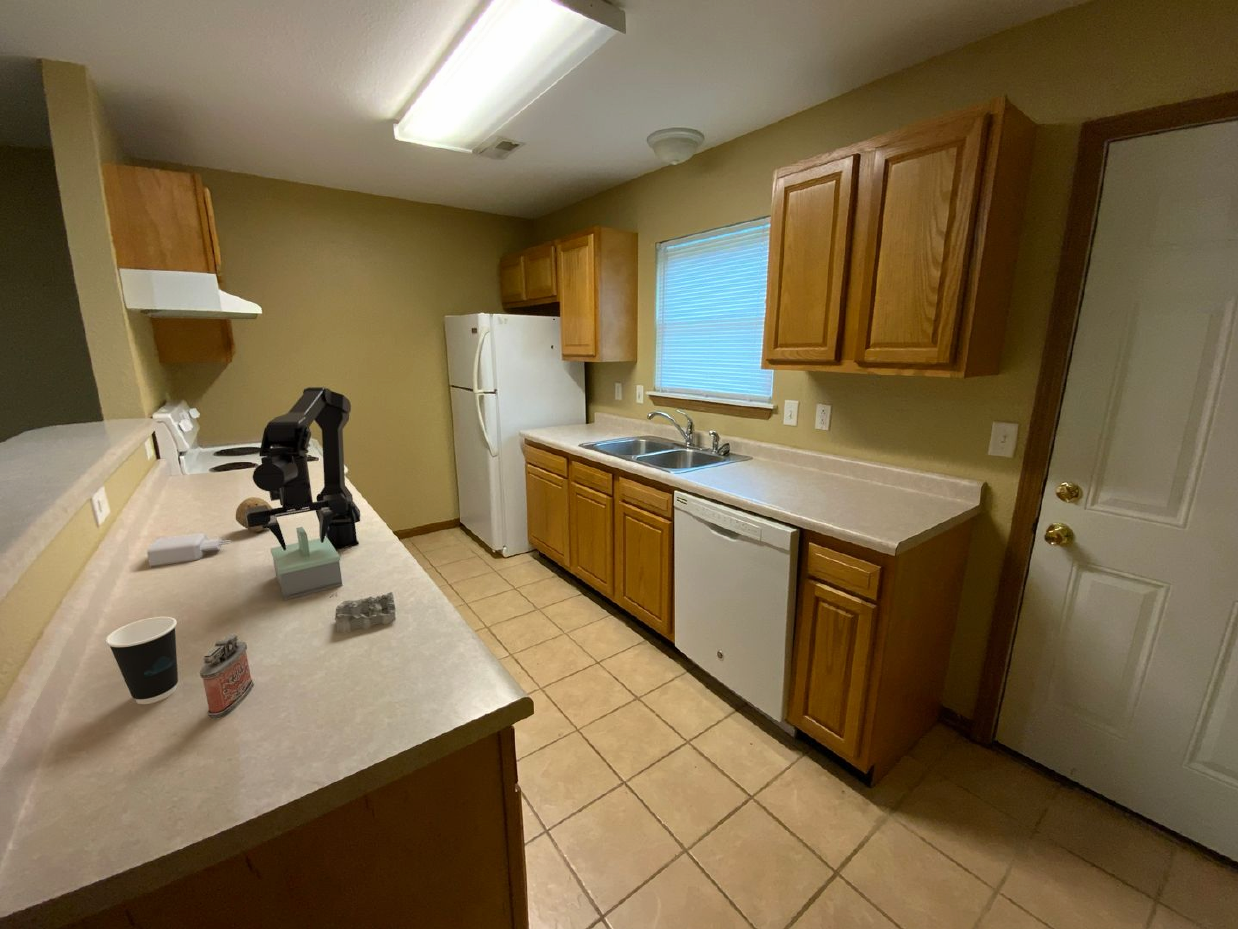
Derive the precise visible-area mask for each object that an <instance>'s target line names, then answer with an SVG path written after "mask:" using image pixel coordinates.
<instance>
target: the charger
mask: <svg viewBox="0 0 1238 929" xmlns="http://www.w3.org/2000/svg"><path fill="white" fill-rule="evenodd" d="M230 542H231V539H227V540H222V538H220V537H219V538H218V537H217V538H211V539H208V536H207V534H206V533H203V532H200V533H192V534H190V533H189V534H183V535H176V536H175V535H174V536H167V537H160V538H159V537H158V538H157V539H156V540H154V542H153V543H152V544H151V545H150V546H148V549H147V552H146V553H147V557H148V563H149V566H150V567H158V566H159V567H160V566H164V565H171V564H179V563H180V564H181V563H187V562H193V561H197V560H200V559H202V558H203V557H204V555H205V554H206V553H207V552H210V551H217V550H220V549H221V547H222V546H223V545H230Z"/></svg>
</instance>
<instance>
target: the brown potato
mask: <svg viewBox="0 0 1238 929" xmlns="http://www.w3.org/2000/svg"><path fill="white" fill-rule="evenodd" d="M263 505H267V507H268V509H274V508H273V507H272V506H271V504H270V503H269V502H268V501H267V500H265V499H262V498H260V497H257V496H256V497H255V496H250V497H248V498H246V499H244V500H243V501H242V502H241V503H239V505H238V506H237V508H236V511H235V520H236V521H237V523H238V524H239V525H240V526H242V527H244V528H245V529H247V530H249V531H250V532H253V533H259V532H262V531H264V530H265V529H263V528H262V526H256V527H248V524H247V521H246V515H245V511H246V509H247V508H250V507H257V506H263Z"/></svg>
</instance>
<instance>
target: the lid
mask: <svg viewBox="0 0 1238 929" xmlns="http://www.w3.org/2000/svg"><path fill="white" fill-rule="evenodd" d="M296 536H297V542H295V543H290V544H285V545H286V550H283V548H282V546H281V545H279V546H276V547H270V553H271V555H272V556H271V557H272V560H273V559H274V561H273V563H274V562H275V564H276V567H277V570H278V572H279V575H280V574H284V573H289V572H293V571H297V570H302V569H306V568H310V567H315V566H319V565H323V564H328V563H332V562H336V561H339V562H340V561H341V556H340V554H339V553H338V551H337V549H335V548H334V547H333V545H332V544H331V542H330V541H329V540H328V538H327V537H326V536H325V538H324V542H323V543H321V541H320V537H319V538H316V539H310V540H308V534H307V532H306V531H305V528H304V527H303V526H300V527H296Z"/></svg>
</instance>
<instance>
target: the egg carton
mask: <svg viewBox="0 0 1238 929" xmlns="http://www.w3.org/2000/svg"><path fill="white" fill-rule="evenodd" d="M395 604H396V603H395V598H394V594H393V592H392V591H390V592H388V593H387V594H382V595H381V596H380V595H379V596H378V595H376V596H375V597H373V596H368V597H367V598H360V599H358V600H357V599H356V600H354V599H352V600H351V599H349V600H344V601H343V602H341V603H340V604H338V605H337V606H336V607H335V614H334V621H335V622H336V630H337V632H338V633H339V632H341V633H344V634H348V633H351V632H352V631H353V630H355V629H357V628H363V629H364V630H365V629H366V630H367V629H370V628H371V627H373V626H374V625H376V624H382V625H384V626H385V625H388V624H390V623H391V622H392V621H395V620H396V619H397V618H396V605H395ZM383 609H387V614H384V613H383ZM364 613H368V615H369V616H366V615H365V614H364Z"/></svg>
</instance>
